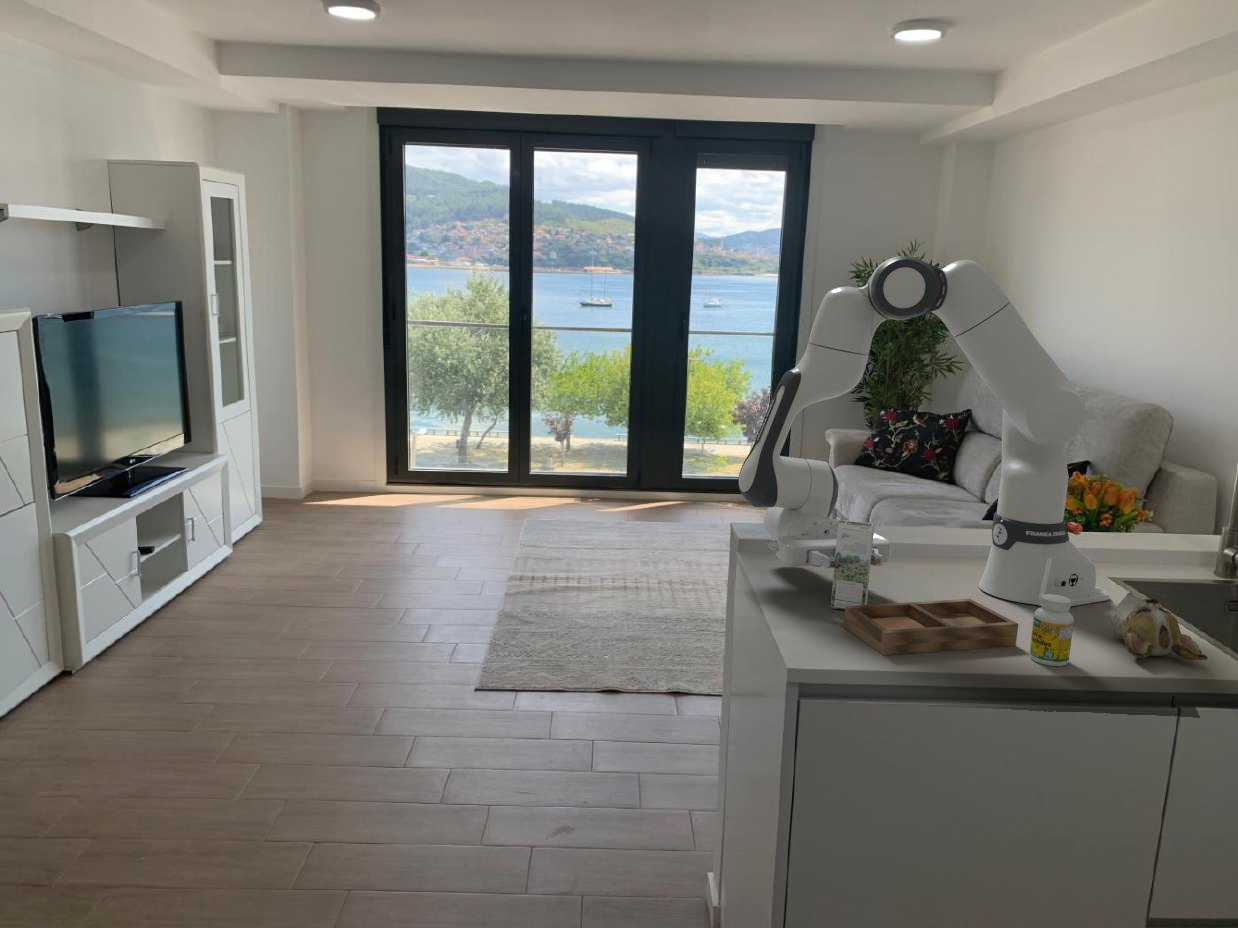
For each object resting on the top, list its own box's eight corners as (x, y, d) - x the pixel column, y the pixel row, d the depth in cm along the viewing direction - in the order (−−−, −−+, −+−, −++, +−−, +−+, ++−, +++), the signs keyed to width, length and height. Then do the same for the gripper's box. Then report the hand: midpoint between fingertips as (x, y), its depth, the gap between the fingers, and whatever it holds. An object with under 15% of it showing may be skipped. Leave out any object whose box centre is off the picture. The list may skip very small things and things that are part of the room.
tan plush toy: (1164, 584, 152) (1219, 621, 138) (1155, 634, 154) (1208, 676, 140) (1097, 581, 152) (1145, 618, 138) (1089, 631, 155) (1135, 673, 140)
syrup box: (867, 603, 164) (875, 521, 161) (864, 614, 158) (872, 529, 156) (833, 599, 166) (840, 517, 163) (829, 609, 160) (836, 525, 158)
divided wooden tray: (967, 618, 158) (970, 598, 158) (1015, 645, 147) (1018, 623, 146) (843, 626, 152) (845, 606, 151) (883, 655, 141) (885, 632, 140)
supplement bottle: (1076, 664, 140) (1085, 602, 138) (1049, 668, 138) (1057, 605, 136) (1047, 651, 145) (1055, 590, 143) (1020, 655, 143) (1028, 594, 141)
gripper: (765, 525, 169) (800, 546, 156) (867, 522, 175) (910, 542, 162) (762, 559, 171) (797, 583, 158) (864, 555, 176) (906, 577, 163)
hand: (855, 562), depth 160 cm, fingers closed on syrup box, 7 cm apart
